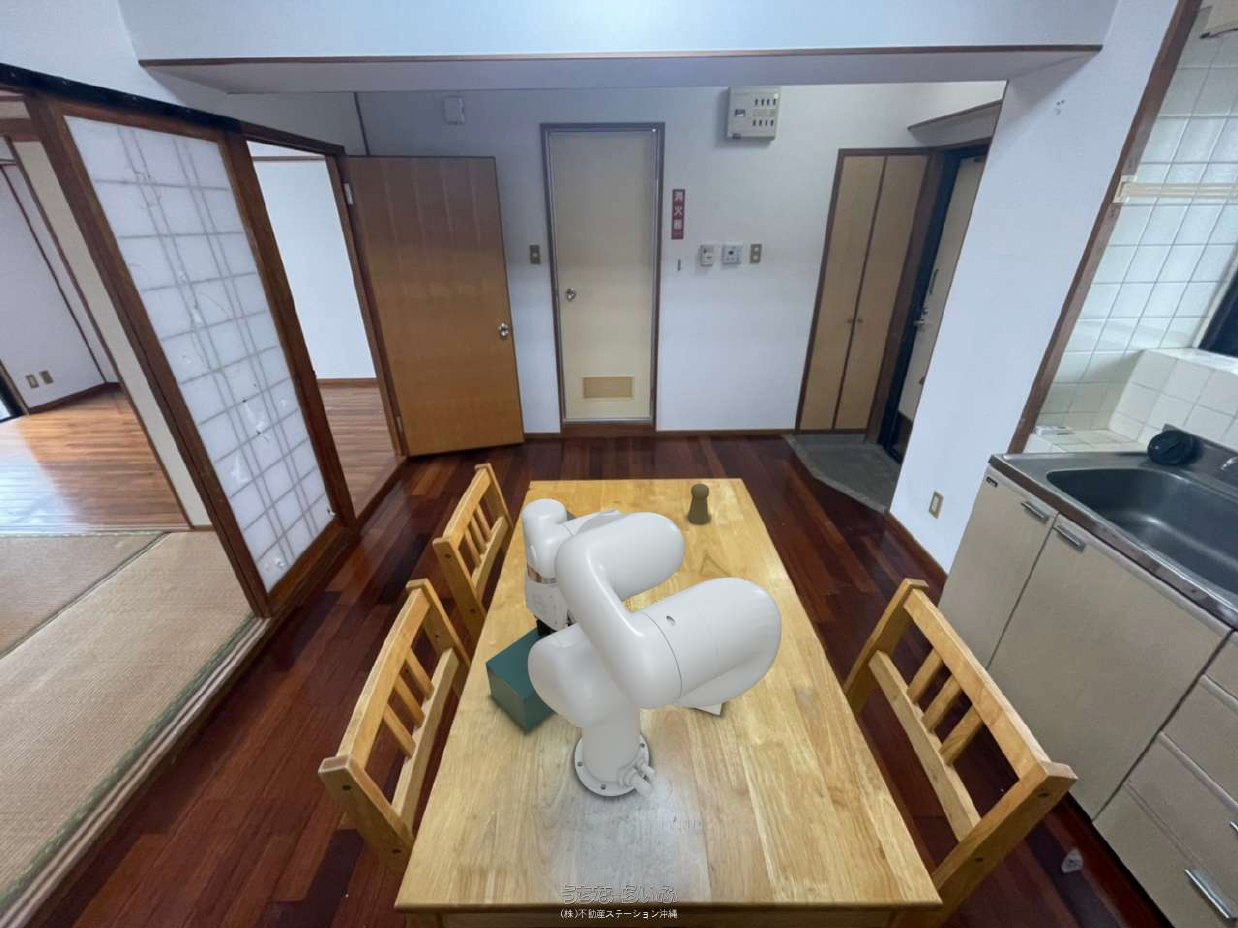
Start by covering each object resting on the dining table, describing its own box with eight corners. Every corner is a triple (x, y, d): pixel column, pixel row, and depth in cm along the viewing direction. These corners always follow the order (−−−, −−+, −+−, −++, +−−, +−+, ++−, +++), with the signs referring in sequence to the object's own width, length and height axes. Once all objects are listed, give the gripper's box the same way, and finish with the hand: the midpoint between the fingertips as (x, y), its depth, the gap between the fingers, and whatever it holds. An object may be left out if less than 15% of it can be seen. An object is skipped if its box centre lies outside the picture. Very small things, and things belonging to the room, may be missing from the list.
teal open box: (546, 654, 108) (543, 625, 104) (582, 685, 101) (581, 655, 97) (491, 695, 99) (485, 665, 95) (527, 732, 92) (523, 701, 88)
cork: (684, 514, 154) (686, 482, 149) (702, 511, 156) (705, 479, 151) (693, 525, 149) (695, 493, 144) (711, 521, 151) (714, 489, 145)
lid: (546, 623, 104) (544, 602, 102) (584, 652, 98) (582, 631, 95) (485, 665, 95) (481, 644, 93) (523, 701, 88) (519, 679, 86)
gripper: (502, 554, 94) (512, 628, 102) (565, 599, 83) (571, 677, 92) (534, 536, 98) (542, 608, 107) (598, 577, 88) (600, 652, 96)
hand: (555, 639), depth 99 cm, fingers closed on lid, 5 cm apart
